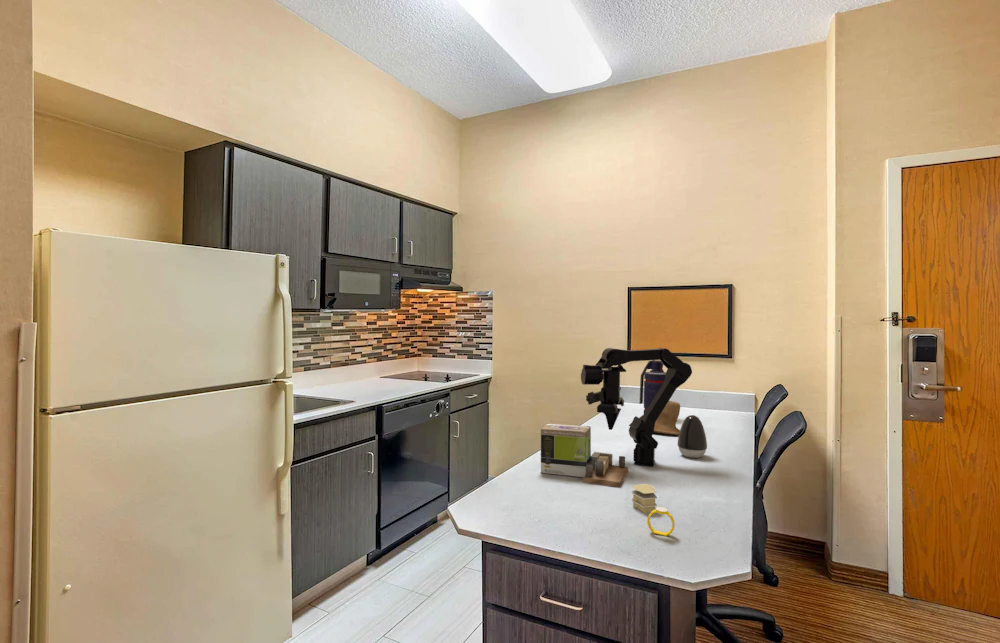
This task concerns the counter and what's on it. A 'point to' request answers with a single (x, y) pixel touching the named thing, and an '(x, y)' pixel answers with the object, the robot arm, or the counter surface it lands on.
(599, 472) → the oak leg
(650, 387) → the dark blue tall bottle
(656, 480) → the counter surface
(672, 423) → the tan boot
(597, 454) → the corner bracket
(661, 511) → the watch
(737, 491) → the counter surface
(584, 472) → the tea box
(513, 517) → the counter surface
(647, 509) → the stacked layers on plate
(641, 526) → the counter surface
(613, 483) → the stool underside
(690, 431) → the dark egg shaped device
